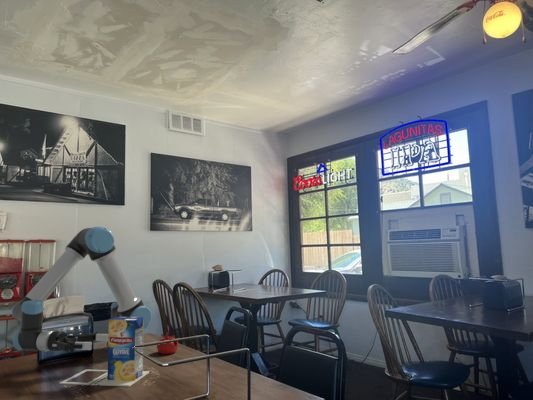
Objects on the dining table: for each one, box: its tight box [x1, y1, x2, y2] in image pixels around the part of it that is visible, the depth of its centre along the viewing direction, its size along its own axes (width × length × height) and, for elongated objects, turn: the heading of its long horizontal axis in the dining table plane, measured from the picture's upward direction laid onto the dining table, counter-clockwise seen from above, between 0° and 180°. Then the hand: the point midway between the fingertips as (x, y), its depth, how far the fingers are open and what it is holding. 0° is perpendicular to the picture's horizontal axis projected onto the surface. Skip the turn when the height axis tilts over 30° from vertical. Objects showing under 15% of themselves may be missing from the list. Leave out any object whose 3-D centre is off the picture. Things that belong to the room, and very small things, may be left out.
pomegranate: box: [156, 332, 179, 355], centre depth 188 cm, size 10×10×9 cm
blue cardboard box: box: [106, 317, 144, 381], centre depth 152 cm, size 7×11×22 cm, turn 81°
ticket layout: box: [59, 369, 150, 388], centre depth 152 cm, size 16×28×1 cm, turn 81°
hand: (101, 341), depth 154 cm, fingers open, 13 cm apart
